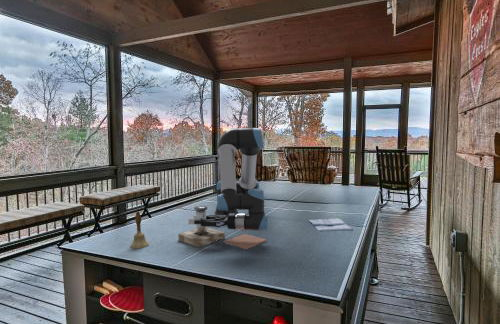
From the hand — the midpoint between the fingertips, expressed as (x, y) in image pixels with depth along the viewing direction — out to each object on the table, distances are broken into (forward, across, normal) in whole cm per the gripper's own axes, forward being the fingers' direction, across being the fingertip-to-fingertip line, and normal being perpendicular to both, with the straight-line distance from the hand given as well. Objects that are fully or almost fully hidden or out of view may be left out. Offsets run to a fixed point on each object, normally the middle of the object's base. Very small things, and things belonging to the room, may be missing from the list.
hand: (191, 219), depth 149 cm
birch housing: (-5, 0, -10) cm, 11 cm away
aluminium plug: (-5, 0, -10) cm, 11 cm away
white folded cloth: (-68, +33, -10) cm, 76 cm away
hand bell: (+21, -13, -10) cm, 26 cm away
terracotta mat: (-28, -1, -10) cm, 29 cm away
